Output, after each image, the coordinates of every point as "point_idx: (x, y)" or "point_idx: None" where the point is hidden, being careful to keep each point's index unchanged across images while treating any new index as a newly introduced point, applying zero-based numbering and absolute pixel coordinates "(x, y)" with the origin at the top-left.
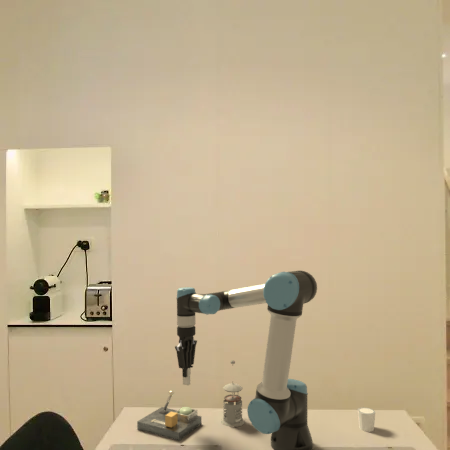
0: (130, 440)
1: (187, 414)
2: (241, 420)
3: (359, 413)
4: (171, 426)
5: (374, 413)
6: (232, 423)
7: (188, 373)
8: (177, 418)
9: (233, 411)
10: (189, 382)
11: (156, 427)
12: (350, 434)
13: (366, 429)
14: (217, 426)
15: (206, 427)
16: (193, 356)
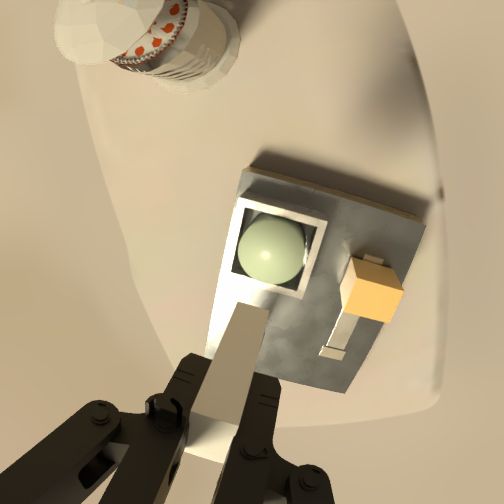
0: (417, 364)
1: (298, 232)
2: (191, 5)
3: None
4: (394, 271)
5: None
6: (225, 30)
7: (244, 383)
8: (354, 266)
9: (207, 10)
10: (246, 316)
11: (381, 325)
12: None
13: None
14: (253, 89)
15: (276, 133)
16: (45, 474)
